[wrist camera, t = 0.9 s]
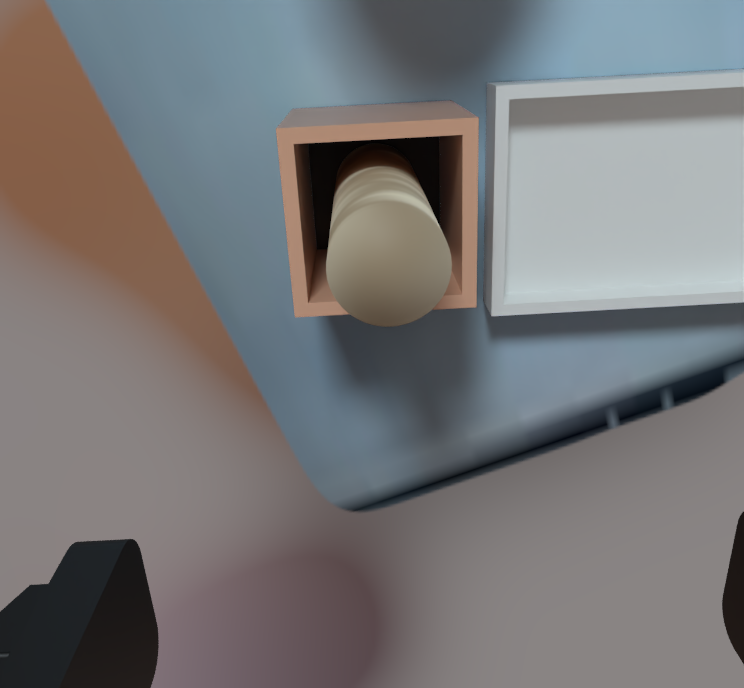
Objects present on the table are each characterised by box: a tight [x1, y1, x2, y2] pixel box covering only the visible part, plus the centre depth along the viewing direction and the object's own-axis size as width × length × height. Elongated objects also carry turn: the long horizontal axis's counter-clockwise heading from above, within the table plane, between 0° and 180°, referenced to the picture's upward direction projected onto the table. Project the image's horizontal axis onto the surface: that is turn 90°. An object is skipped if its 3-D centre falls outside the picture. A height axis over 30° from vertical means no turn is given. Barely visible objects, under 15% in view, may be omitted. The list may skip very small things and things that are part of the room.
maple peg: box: [326, 143, 452, 327], centre depth 29 cm, size 4×4×14 cm
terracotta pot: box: [276, 100, 479, 317], centre depth 31 cm, size 8×8×8 cm
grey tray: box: [483, 69, 744, 316], centre depth 34 cm, size 15×11×2 cm
